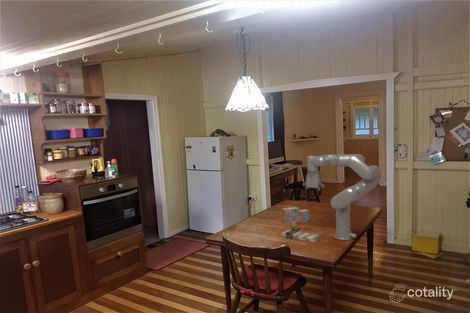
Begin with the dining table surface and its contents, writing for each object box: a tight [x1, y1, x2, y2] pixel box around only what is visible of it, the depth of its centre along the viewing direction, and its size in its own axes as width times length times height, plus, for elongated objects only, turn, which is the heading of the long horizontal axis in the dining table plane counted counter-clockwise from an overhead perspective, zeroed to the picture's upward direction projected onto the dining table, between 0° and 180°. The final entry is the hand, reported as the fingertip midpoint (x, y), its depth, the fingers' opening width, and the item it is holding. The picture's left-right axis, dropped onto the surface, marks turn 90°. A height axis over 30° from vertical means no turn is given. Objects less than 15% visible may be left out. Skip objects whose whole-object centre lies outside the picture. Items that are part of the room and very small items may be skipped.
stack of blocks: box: [281, 206, 310, 225], centre depth 276 cm, size 21×6×12 cm, turn 101°
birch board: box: [281, 229, 322, 243], centre depth 240 cm, size 26×10×2 cm, turn 50°
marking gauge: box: [286, 220, 301, 239], centre depth 243 cm, size 5×14×10 cm, turn 140°
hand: (313, 195), depth 245 cm, fingers open, 9 cm apart
